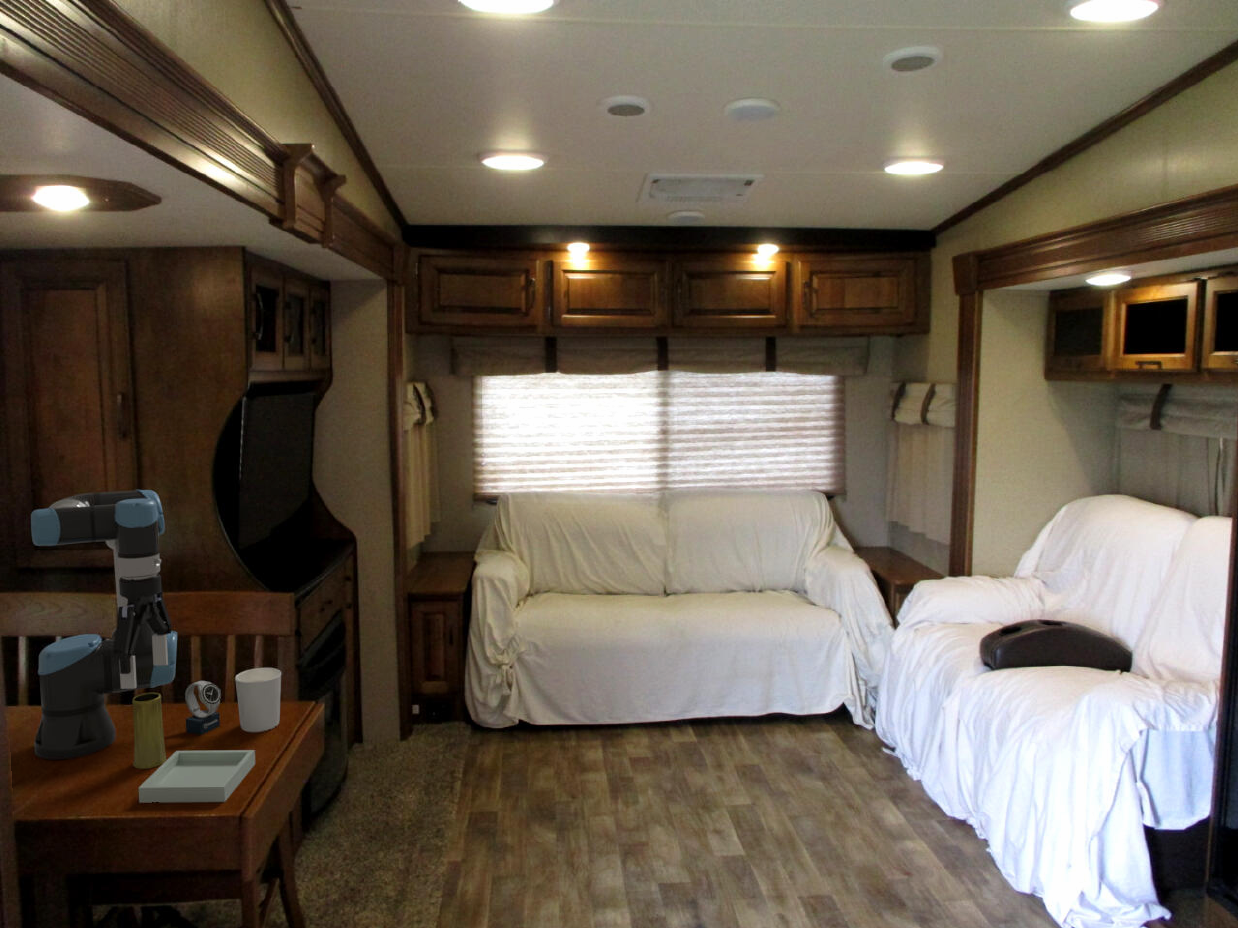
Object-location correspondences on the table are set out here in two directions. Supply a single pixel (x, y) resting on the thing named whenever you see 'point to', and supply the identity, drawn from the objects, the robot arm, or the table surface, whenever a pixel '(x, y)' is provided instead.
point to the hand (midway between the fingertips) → (145, 676)
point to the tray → (197, 776)
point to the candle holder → (259, 698)
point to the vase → (148, 731)
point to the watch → (204, 719)
